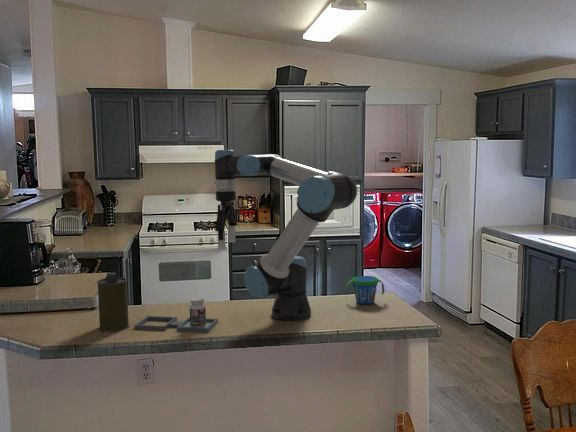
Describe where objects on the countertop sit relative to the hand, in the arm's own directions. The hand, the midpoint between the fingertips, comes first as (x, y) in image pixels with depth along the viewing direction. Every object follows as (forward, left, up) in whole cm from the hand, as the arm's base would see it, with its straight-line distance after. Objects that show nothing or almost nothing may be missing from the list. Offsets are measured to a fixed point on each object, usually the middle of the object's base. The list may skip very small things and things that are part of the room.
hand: (226, 245), depth 223 cm
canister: (+36, +24, -27) cm, 51 cm away
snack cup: (-52, -22, -27) cm, 63 cm away
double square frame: (+14, +19, -27) cm, 36 cm away
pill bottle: (+6, +19, -27) cm, 33 cm away
